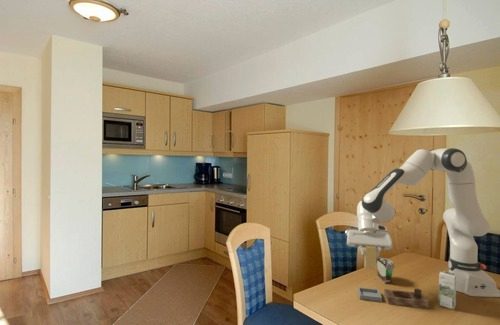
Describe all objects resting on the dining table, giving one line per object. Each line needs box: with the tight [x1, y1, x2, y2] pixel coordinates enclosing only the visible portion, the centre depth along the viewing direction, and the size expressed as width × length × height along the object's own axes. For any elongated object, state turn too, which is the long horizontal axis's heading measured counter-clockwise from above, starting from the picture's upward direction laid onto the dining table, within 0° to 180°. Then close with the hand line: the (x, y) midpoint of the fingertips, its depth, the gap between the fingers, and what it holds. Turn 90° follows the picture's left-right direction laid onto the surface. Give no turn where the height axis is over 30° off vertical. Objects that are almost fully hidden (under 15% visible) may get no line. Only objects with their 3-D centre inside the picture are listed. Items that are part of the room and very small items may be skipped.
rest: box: [357, 286, 383, 303], centre depth 135 cm, size 9×8×2 cm
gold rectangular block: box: [363, 245, 377, 271], centre depth 134 cm, size 4×4×10 cm
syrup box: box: [438, 270, 457, 311], centre depth 127 cm, size 6×6×14 cm
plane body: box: [383, 288, 429, 310], centre depth 130 cm, size 16×8×6 cm, turn 76°
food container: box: [376, 256, 395, 284], centre depth 153 cm, size 12×6×10 cm, turn 179°
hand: (370, 255), depth 134 cm, fingers closed on gold rectangular block, 4 cm apart
